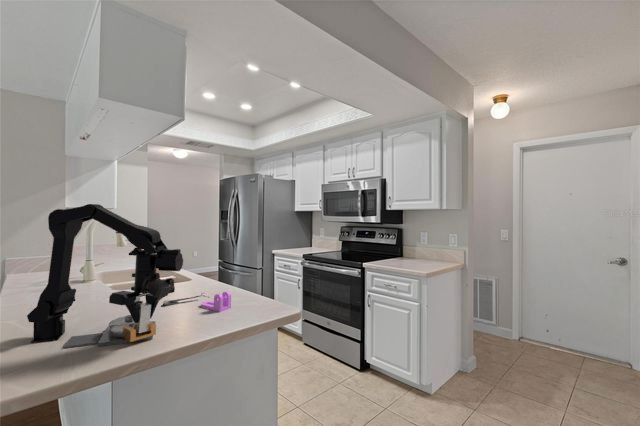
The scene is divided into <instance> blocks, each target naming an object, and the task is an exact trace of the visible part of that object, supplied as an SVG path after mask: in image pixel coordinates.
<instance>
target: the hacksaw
mask: <svg viewBox="0 0 640 426" xmlns="http://www.w3.org/2000/svg"><path fill="white" fill-rule="evenodd" d="M200 297H206V298H209V299H210V296H207V295H204V292H202V293H201V295H195V296H191V297H184V298H178V299H172V300H169V299H168V300H164V301H163V302H164V303H162V304H161V305H160V306H161V307H163V308H165V307H169V306H174V305H175V306H176V305H179V304H185V303H190V302H195V301H197V299H196V298H200ZM189 299H192V300H189ZM193 299H194V300H193Z"/></svg>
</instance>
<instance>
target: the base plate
mask: <svg viewBox="0 0 640 426" xmlns="http://www.w3.org/2000/svg"><path fill="white" fill-rule="evenodd" d="M151 322H152V323H154V324H156V320H154V321H151ZM102 333H103V335H102V337H101V338H100V340H99V342H98V344H97V347H106V346H112V345H119V344H126V343H130V342H129V341H128V340H126V339H125V338H123V337H112V336H110V335H109V334H108V333H109V326H107V327H106V329H105V330H104V332H102ZM153 338H154V335H153V336H149V337H146V338H143V339H139V340H136V341H133V342H132V343H134V342H140V341H149V340H154V339H153Z"/></svg>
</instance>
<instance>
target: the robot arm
mask: <svg viewBox="0 0 640 426" xmlns="http://www.w3.org/2000/svg"><path fill="white" fill-rule="evenodd" d="M47 218H48V219H47V221H48V222H47V223H48V230H49V232H50V233H51V236H52V237H53V241H52V248H51V254H50V256H51V257H50V262H49V263H50V264H49V272H48V281H47V285H46V286H45V288H44V289H43V290H42V291H41V293H40V295H39V297H38V300H37V304H36V307H34V308H33V309H32V310H31V311H30V312H29V313H28V314H27V315H26V318H27V320H28V321H27V322H29V323H33V338H32V339H31V340H30V343H31V344H33V343H40V342H50V341H56V340H59V339H60V338H61V337H62V336H63V335H64V334H65V333H66V319H64V315H65V314H67V313H68V312H69V309H70V308H71V307H72V306H73V304H74V302H76V294H77V293H76V292H77V289H76V288H72V287H71V285H70V284H69V283H70V274H71V267H72V258H73V250H74V242H75V238H76V237H77V235H78V234H79V233H80V231H81V229H82V227H83V223H85V222H88V221H92V220H95V221H96V222H99V223H100V224H102V225H104V226H105V227H108V228H110V229H111V230H113V231H115V232H117V233H119V234H121V235H122V236H124V237H125V238H126V239H127V241H128V242H129V243H130V244H131V245H132V246H134V248H133V249H132V250H131V251H130V252H128V255H129V256H134V257H135V269H134V272H133V273H131V278H134V284H133V285H134V286H131V287H130V288H131V289H130V291H127V290H121V291H116V292H112V293H111V294H110V295H109V300H108V303H109V304H113V305H117V306H118V305H119V306H125V307H126V308H127V310H128V312H129V315H131V316H132V318H133V320H134V322H135V323H138V320H139V313H140V306H141V304H142V303H144V301H143V300H141V297H145V303H148V304H151V313H150V320H151V319H152V317H153V315H154V312H155V310H156V308H157V305H158V303H159V302H160V301H161V300H163V298H165V297H168V295H169V294H172V293H173V294H174V293H175V287H176V286H175V279H173V278H172V277H169V278H166V279H161V276H160V272H157V270H158V271H161V272H163V271H165V272H180V271H181V270H182V268H183V265H184V258H183V254H182V253H181V249H180V248H176V249H175V248H174V249H170V248H169V249H168V247H167V246H166V243H164V241H163V240H162V239H161V238H162V237H161V234H160V232H159V231H158V230H157V229H153V228H151V227H148V226H144V225H140V224H137V223H134V222H132V221H130V220H128V219H127V218H124V217H122V216H120V215H118V214H117V213H114V212H113V211H111V210H109V209H108V208H105V207H104V206H103V205H101V204H97V203H96V204H95V203H88V204H84V205H81V206H76V207H72V208H67V209H65V208H64V209H63V208H57V209H53V211H51V212H49V215H48V217H47Z"/></svg>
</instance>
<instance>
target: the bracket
mask: <svg viewBox="0 0 640 426" xmlns="http://www.w3.org/2000/svg"><path fill="white" fill-rule="evenodd" d="M200 307H201V308H202V309H206V310H211V311H214V312H218V313H222V312H225V311H227V310H230V309H231V308H232V294H231V292H230V291H228V290H227V291H224V292H222V293H221V292H220V293H216V294H214V296H213V300H206V301H202V302H201V304H200Z"/></svg>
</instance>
